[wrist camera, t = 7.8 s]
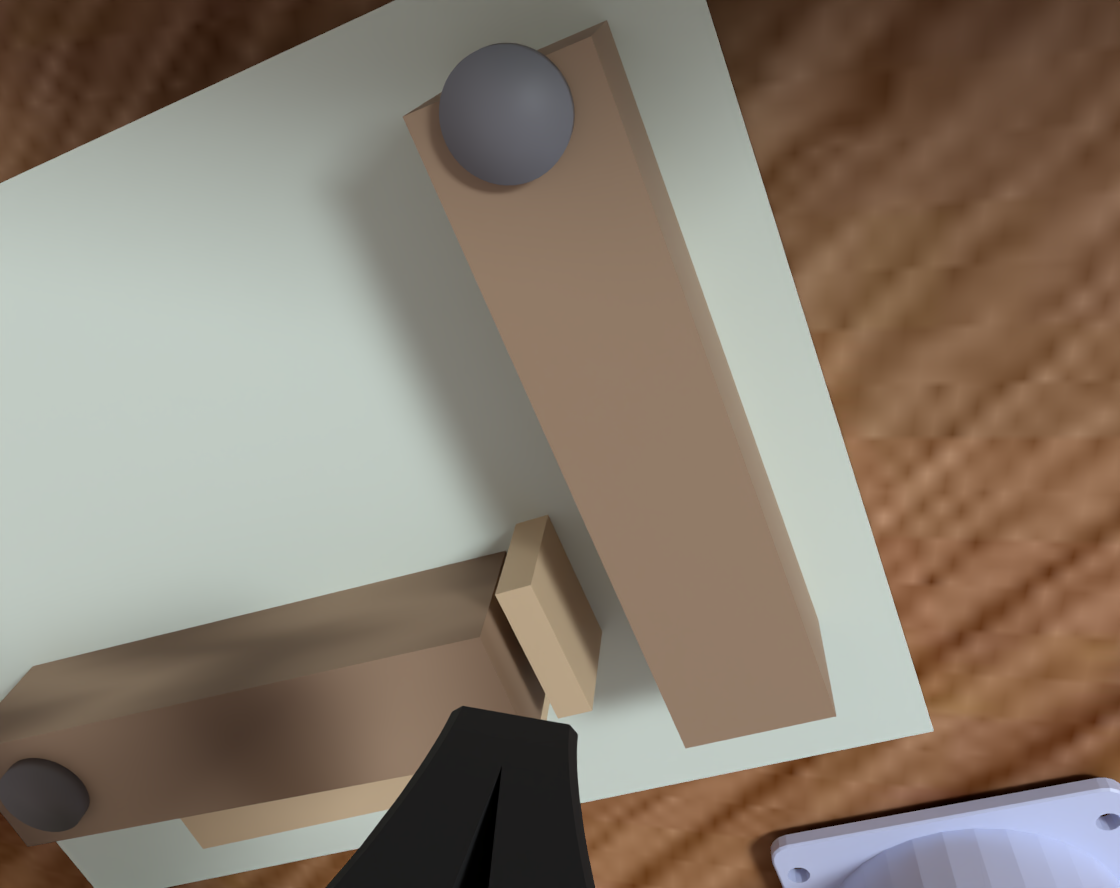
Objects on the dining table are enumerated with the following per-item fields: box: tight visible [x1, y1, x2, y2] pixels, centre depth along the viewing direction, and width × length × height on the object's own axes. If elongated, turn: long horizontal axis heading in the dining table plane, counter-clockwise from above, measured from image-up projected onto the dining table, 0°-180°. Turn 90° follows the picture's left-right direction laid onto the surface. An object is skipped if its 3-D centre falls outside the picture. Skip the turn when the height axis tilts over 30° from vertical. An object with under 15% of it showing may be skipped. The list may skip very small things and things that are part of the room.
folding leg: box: [0, 551, 545, 847], centre depth 21 cm, size 12×3×3 cm, turn 110°
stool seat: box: [0, 0, 934, 888], centre depth 20 cm, size 17×22×4 cm
